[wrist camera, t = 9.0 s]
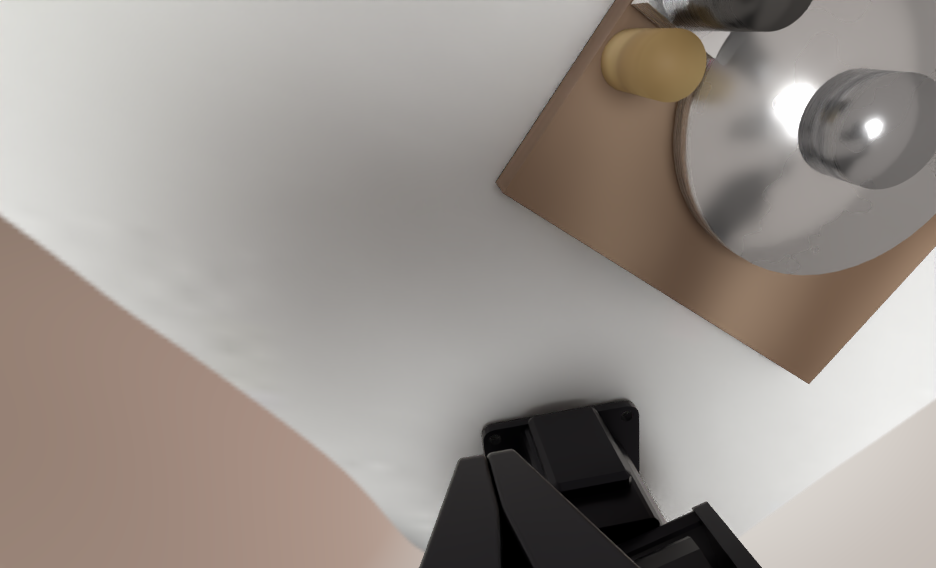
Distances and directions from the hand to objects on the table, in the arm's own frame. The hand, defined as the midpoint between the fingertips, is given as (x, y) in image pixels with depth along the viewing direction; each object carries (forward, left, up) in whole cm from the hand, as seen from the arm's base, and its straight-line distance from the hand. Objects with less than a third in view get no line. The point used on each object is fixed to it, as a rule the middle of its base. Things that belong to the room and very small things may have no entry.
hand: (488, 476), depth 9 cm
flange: (+3, -12, -11) cm, 17 cm away
